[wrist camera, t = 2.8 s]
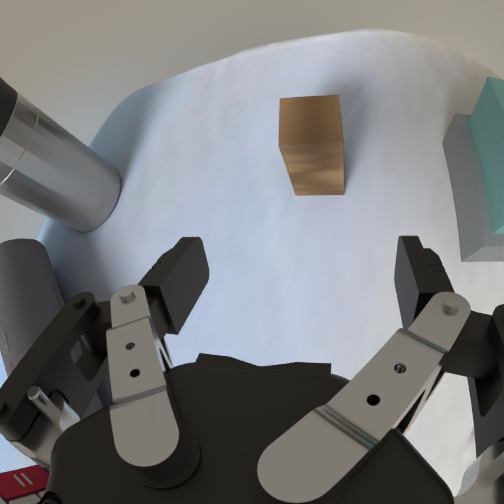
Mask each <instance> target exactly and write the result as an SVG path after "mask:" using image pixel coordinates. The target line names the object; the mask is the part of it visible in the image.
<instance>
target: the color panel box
mask: <svg viewBox="0 0 504 504" xmlns="http://www.w3.org/2000/svg"><path fill="white" fill-rule="evenodd" d="M48 478H49V474H48V473H47V472H46V471H45V470H44V469H43V468H42V467H41V466H39V465H34V466H30V467H26V468H21V469H17V470H13V471H8V472H3V473H0V504H37V503H38V502H39V501H40V500H41V498H42V497H43V495H44V493H45V491H46V487H47V483H48Z"/></svg>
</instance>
